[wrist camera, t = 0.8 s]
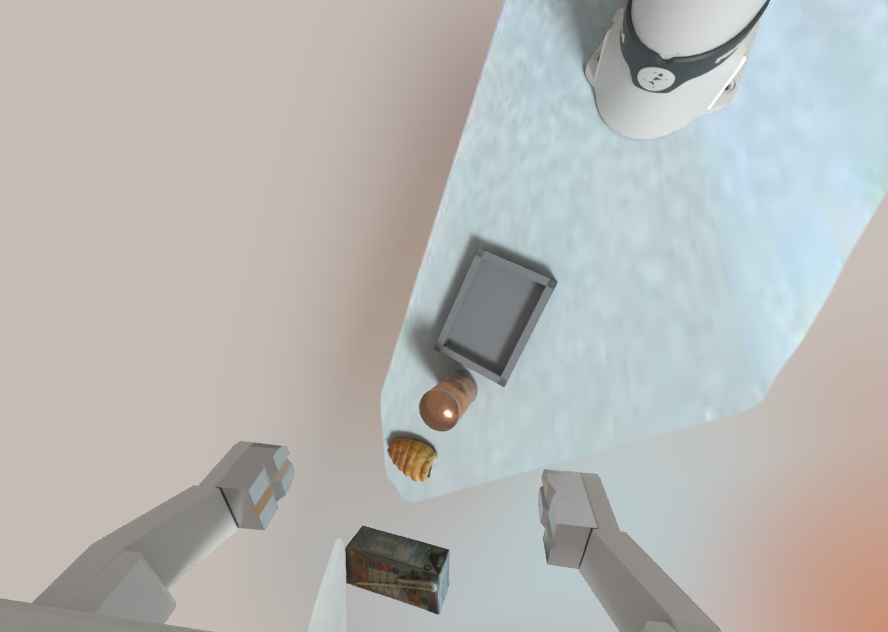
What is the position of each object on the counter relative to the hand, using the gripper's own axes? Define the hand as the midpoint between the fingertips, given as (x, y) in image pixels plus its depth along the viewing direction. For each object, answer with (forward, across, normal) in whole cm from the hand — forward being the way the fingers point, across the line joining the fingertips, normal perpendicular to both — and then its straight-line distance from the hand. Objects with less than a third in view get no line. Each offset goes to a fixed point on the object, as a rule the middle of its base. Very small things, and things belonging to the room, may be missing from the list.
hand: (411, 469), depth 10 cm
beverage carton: (+28, +10, +60) cm, 67 cm away
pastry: (+35, +8, +41) cm, 55 cm away
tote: (+41, -5, +14) cm, 44 cm away
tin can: (+38, 0, +27) cm, 47 cm away
